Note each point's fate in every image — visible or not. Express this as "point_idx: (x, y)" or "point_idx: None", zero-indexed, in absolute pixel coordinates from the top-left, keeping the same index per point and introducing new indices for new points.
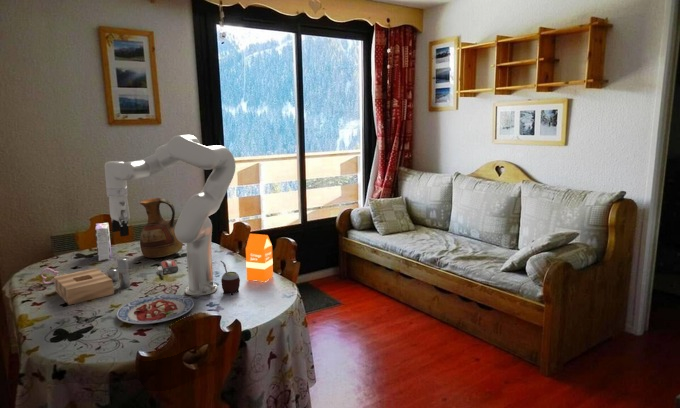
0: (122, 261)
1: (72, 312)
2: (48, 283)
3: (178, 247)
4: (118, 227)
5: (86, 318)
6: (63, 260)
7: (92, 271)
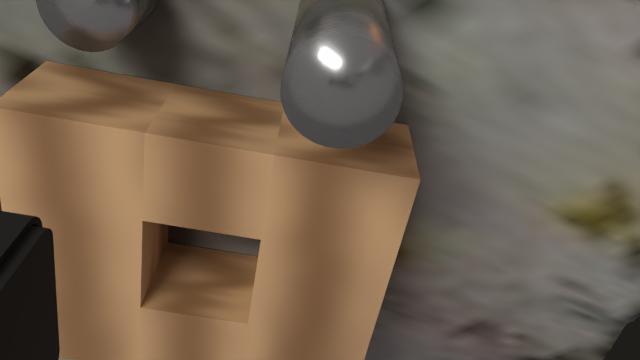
0: (391, 116)
1: (464, 353)
2: None
3: None
4: (7, 336)
5: (598, 351)
6: None
7: (69, 169)
